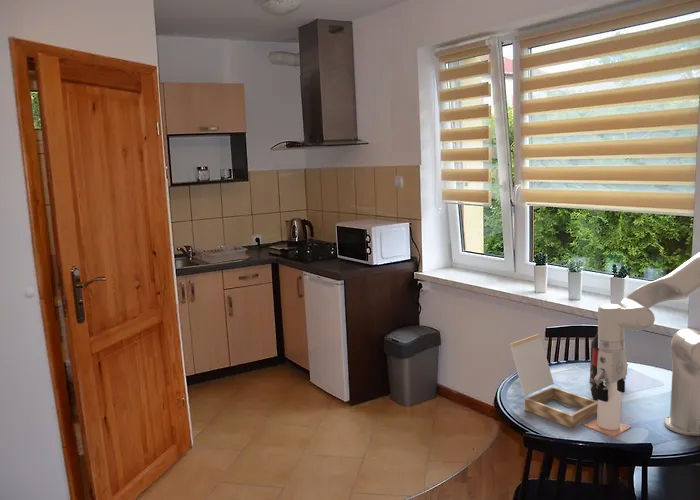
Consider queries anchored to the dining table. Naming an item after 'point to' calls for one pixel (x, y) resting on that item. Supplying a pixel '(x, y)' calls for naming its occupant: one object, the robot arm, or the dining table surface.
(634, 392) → the dining table surface
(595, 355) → the cola bottle
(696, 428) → the robot arm
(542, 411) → the frame
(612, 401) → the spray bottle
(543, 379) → the frame lid
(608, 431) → the thin terracotta tile
